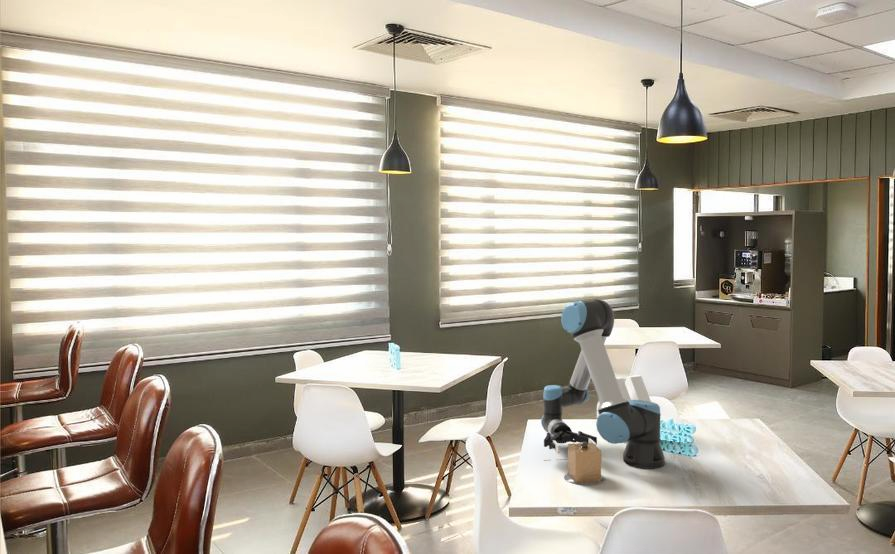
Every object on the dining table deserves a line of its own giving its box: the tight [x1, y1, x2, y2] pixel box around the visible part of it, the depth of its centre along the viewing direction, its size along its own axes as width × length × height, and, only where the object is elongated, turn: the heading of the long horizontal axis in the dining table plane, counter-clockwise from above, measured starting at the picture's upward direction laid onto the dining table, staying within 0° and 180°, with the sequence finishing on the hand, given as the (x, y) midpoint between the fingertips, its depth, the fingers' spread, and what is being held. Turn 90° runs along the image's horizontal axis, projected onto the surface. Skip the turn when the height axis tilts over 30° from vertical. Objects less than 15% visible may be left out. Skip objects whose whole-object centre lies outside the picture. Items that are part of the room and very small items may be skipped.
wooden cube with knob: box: [567, 442, 602, 483], centre depth 236 cm, size 9×9×13 cm
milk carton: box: [596, 374, 652, 444], centre depth 289 cm, size 19×15×25 cm
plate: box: [563, 472, 606, 487], centre depth 236 cm, size 14×14×1 cm
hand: (577, 448), depth 243 cm, fingers open, 13 cm apart
